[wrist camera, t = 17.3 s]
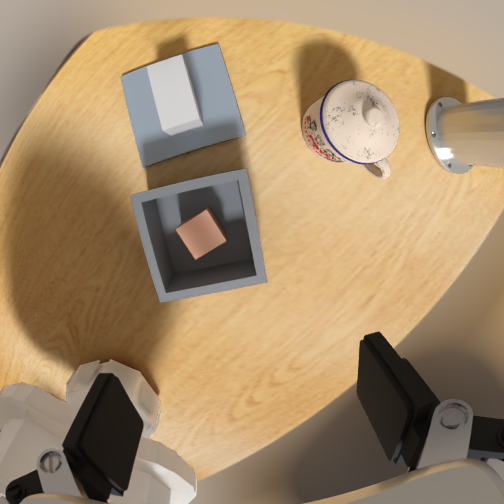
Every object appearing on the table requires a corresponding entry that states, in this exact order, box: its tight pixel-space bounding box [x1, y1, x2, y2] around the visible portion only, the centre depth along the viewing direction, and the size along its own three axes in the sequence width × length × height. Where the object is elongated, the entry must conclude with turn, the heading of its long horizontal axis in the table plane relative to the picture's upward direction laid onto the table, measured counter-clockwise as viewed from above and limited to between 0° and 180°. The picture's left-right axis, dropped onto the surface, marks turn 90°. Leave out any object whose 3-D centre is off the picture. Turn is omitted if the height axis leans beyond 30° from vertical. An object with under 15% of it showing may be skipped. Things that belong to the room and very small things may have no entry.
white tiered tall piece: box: [0, 359, 197, 504], centre depth 25 cm, size 27×27×35 cm
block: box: [176, 205, 227, 260], centre depth 32 cm, size 4×4×4 cm
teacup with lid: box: [302, 80, 399, 179], centre depth 28 cm, size 12×9×12 cm
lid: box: [121, 44, 246, 167], centre depth 28 cm, size 13×13×6 cm
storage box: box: [130, 168, 268, 303], centre depth 32 cm, size 12×12×7 cm
